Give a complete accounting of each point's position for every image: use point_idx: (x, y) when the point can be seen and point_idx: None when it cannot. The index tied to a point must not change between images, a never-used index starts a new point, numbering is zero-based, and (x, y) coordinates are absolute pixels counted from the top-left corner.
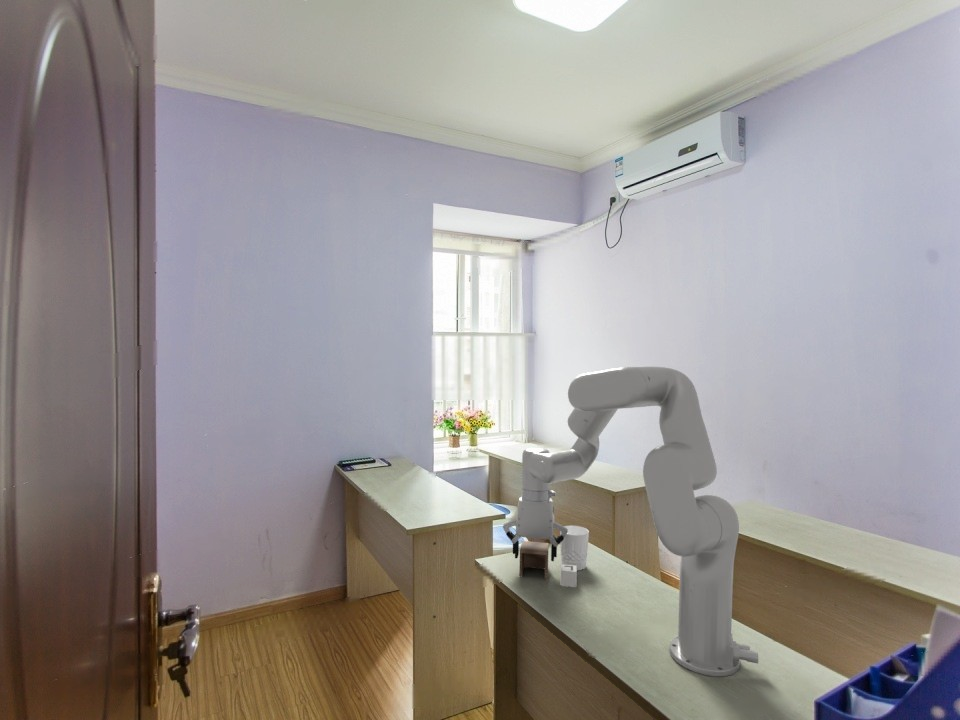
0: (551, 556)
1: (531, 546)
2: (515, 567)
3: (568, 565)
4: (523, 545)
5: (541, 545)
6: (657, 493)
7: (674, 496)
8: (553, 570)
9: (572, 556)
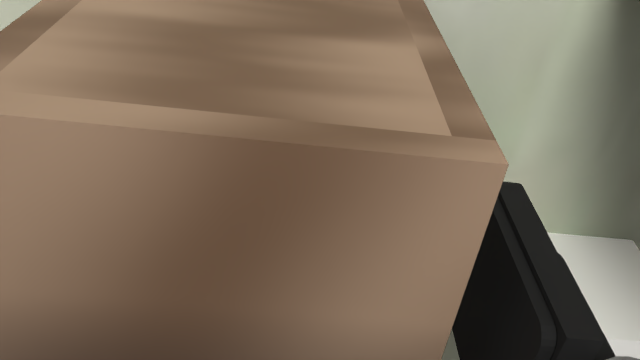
0: (459, 339)
1: (158, 336)
2: (26, 7)
3: (617, 350)
4: (8, 315)
5: (339, 285)
6: None
7: None
8: (476, 47)
9: None
